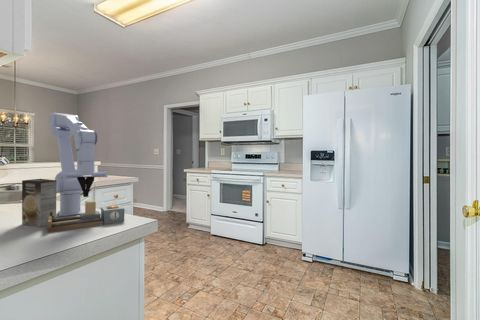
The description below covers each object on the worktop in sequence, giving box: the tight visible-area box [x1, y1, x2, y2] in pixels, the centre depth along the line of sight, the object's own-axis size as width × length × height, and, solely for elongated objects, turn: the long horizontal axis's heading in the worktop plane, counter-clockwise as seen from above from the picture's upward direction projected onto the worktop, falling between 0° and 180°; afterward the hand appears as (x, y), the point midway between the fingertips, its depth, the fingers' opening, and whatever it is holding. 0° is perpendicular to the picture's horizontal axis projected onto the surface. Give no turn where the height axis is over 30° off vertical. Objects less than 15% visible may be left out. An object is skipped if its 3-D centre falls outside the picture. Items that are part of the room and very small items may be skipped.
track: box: [47, 215, 104, 233], centre depth 90 cm, size 9×16×4 cm, turn 127°
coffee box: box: [21, 178, 57, 228], centre depth 91 cm, size 9×6×16 cm
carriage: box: [79, 200, 101, 220], centre depth 92 cm, size 5×6×6 cm
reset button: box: [108, 205, 117, 209], centre depth 97 cm, size 3×3×4 cm
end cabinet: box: [100, 204, 125, 225], centre depth 97 cm, size 8×7×5 cm
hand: (85, 196), depth 96 cm, fingers closed
